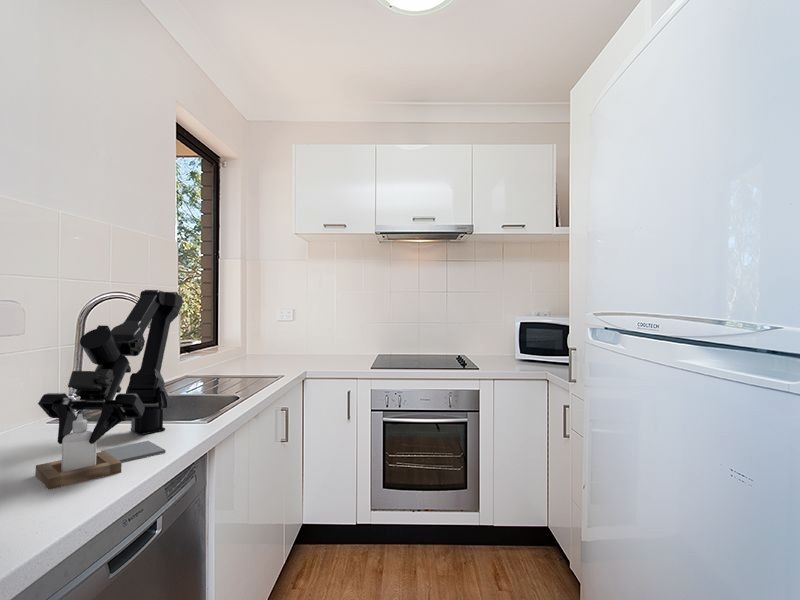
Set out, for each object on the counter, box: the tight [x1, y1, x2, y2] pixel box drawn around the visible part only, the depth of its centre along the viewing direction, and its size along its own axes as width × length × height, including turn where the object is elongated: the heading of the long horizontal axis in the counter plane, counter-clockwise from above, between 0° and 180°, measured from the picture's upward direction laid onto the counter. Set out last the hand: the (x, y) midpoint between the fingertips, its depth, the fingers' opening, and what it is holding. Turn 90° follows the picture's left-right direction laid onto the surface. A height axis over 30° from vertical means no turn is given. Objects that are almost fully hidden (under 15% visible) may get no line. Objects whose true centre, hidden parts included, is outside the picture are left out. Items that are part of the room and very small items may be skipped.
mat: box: [100, 440, 166, 463], centre depth 104 cm, size 10×10×1 cm
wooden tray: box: [35, 451, 123, 490], centre depth 91 cm, size 12×10×2 cm
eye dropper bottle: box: [61, 413, 98, 473], centre depth 91 cm, size 4×6×12 cm
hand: (75, 443), depth 90 cm, fingers closed on eye dropper bottle, 5 cm apart
